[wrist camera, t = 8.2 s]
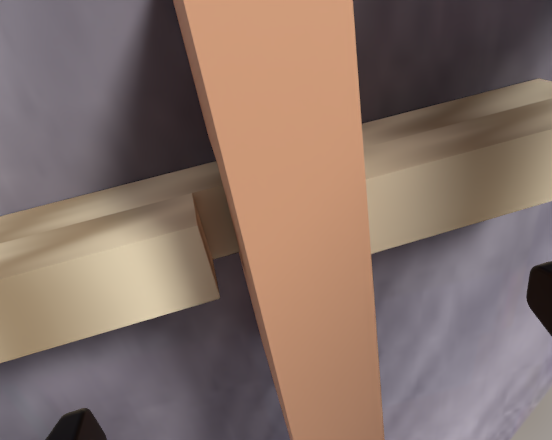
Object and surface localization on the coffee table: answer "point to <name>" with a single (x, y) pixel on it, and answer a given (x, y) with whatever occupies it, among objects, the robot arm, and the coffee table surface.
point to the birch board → (220, 231)
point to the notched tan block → (295, 197)
